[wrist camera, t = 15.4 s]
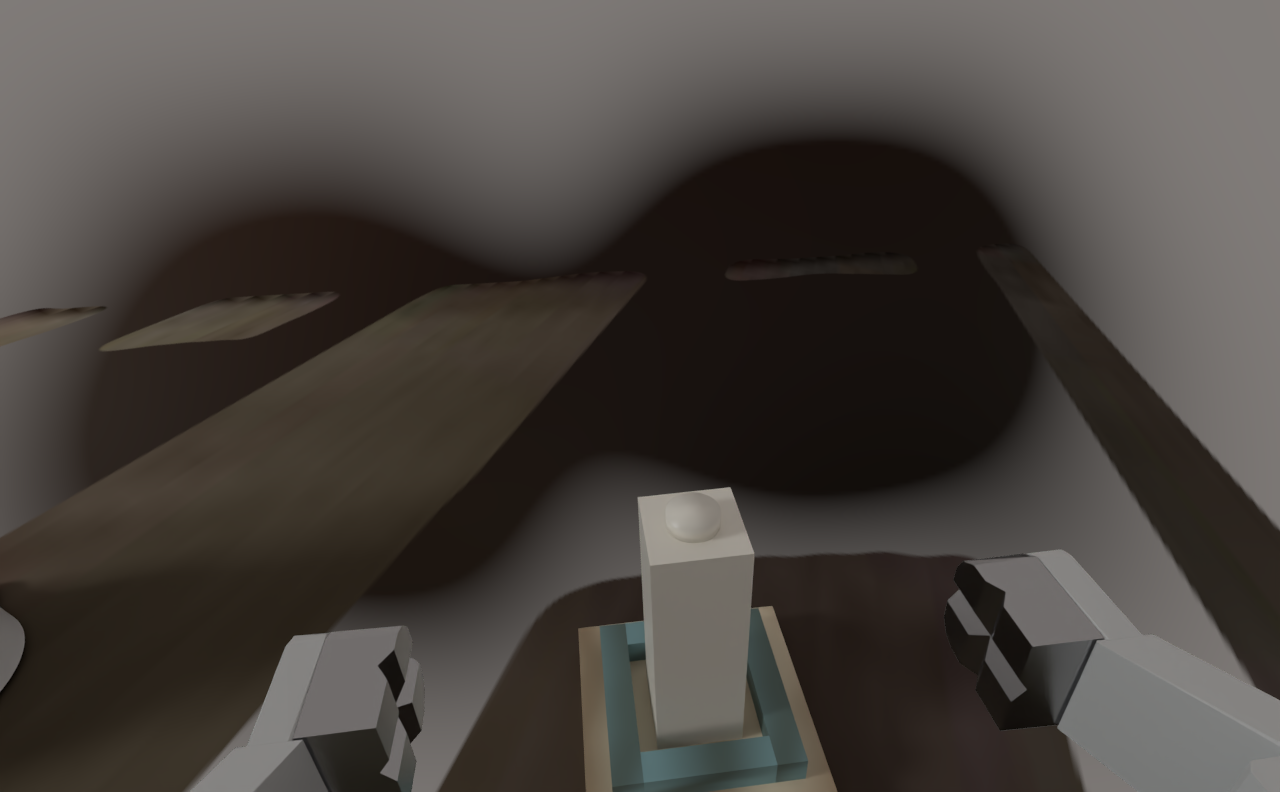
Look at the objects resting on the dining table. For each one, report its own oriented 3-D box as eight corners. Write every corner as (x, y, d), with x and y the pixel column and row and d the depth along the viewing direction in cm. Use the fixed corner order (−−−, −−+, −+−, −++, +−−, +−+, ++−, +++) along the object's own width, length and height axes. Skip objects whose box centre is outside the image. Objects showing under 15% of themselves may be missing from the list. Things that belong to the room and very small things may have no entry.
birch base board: (591, 858, 33) (585, 819, 32) (581, 650, 44) (576, 611, 42) (836, 823, 34) (844, 784, 33) (770, 627, 45) (773, 588, 43)
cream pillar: (657, 749, 36) (649, 551, 29) (646, 675, 40) (636, 483, 32) (742, 738, 36) (755, 539, 29) (723, 665, 40) (730, 473, 33)
